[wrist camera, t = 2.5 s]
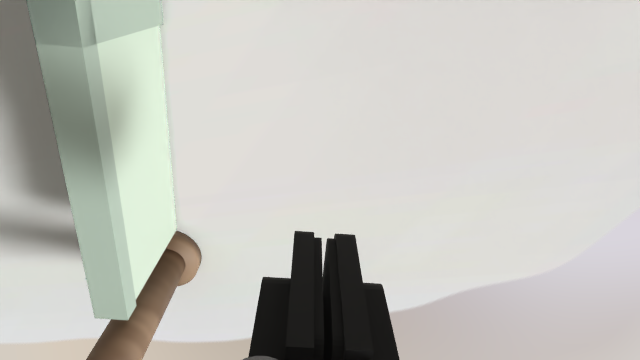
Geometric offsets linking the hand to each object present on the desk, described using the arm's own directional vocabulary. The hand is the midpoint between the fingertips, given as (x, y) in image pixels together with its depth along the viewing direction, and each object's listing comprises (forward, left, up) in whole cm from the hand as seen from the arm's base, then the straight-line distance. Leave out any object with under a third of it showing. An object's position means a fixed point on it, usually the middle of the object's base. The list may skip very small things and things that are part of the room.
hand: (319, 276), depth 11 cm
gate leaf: (+10, +1, -14) cm, 17 cm away
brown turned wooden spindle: (+10, +11, -14) cm, 20 cm away
